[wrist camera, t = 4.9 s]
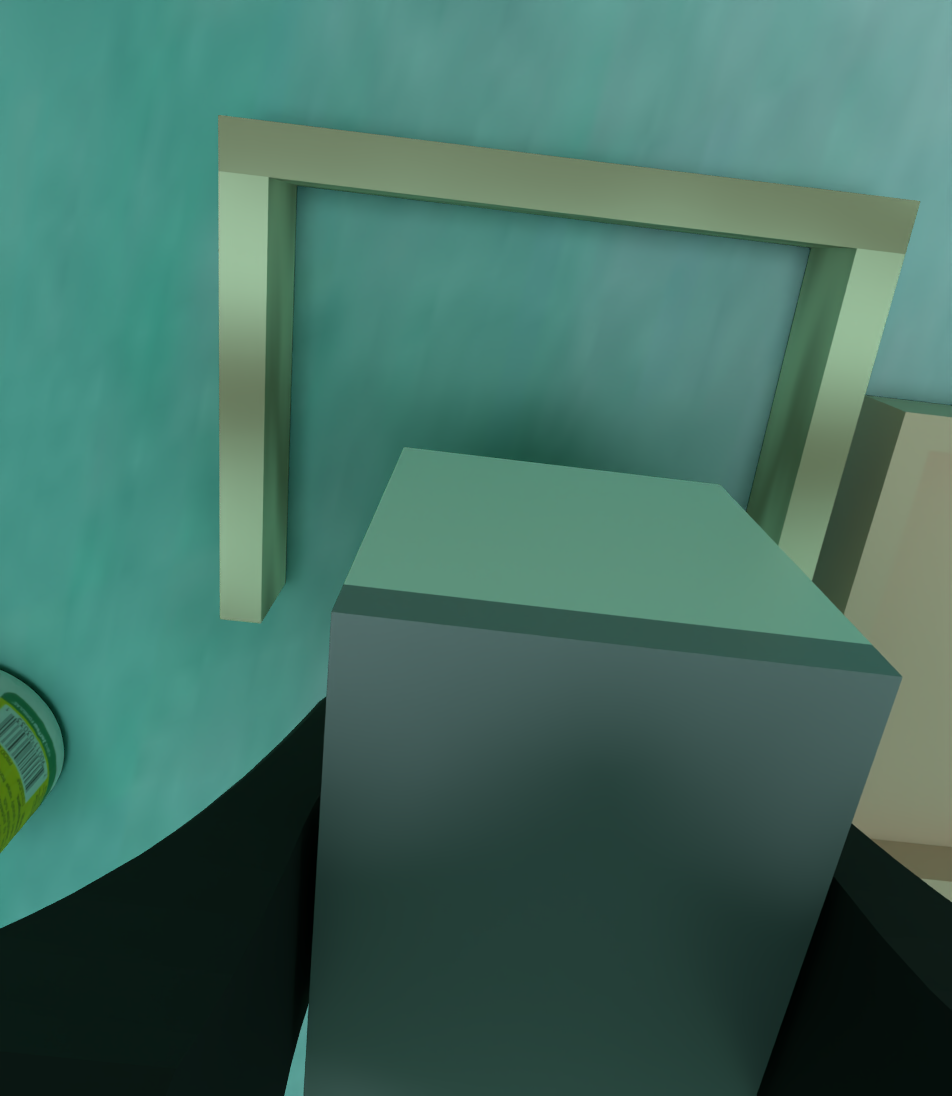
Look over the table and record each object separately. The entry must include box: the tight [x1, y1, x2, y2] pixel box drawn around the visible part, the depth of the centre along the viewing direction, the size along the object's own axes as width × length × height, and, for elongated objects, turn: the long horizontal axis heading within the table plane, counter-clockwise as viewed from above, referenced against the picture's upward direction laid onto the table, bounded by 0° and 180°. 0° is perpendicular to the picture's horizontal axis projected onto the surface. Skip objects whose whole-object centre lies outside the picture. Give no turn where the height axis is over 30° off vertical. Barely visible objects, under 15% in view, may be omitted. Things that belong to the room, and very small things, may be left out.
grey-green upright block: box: [304, 447, 903, 1096], centre depth 11 cm, size 8×5×6 cm, turn 173°
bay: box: [218, 115, 920, 623], centre depth 19 cm, size 11×14×2 cm
